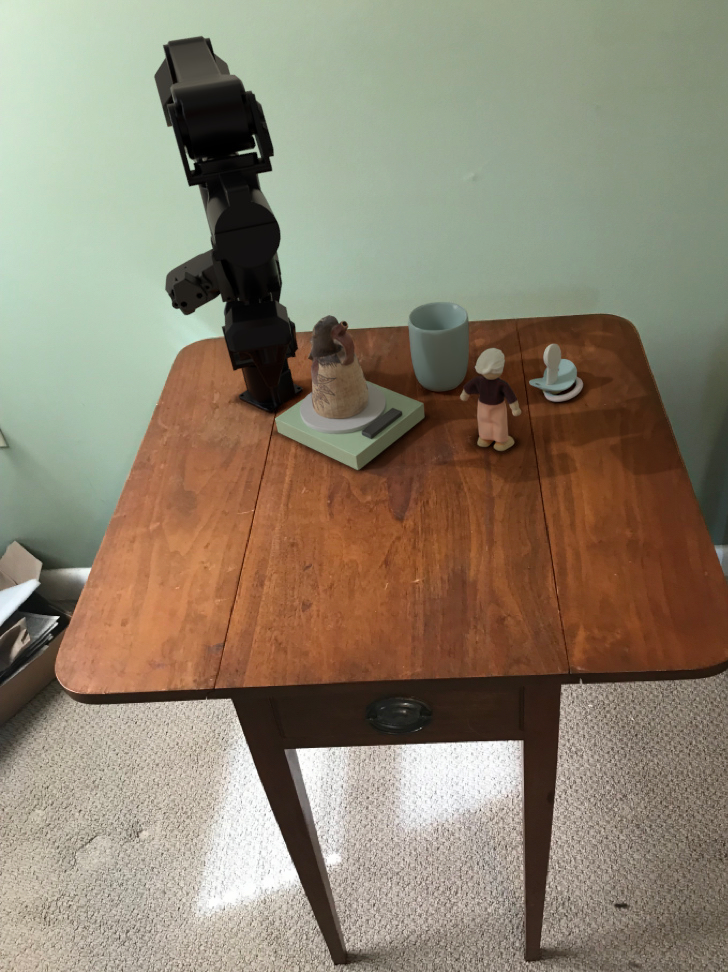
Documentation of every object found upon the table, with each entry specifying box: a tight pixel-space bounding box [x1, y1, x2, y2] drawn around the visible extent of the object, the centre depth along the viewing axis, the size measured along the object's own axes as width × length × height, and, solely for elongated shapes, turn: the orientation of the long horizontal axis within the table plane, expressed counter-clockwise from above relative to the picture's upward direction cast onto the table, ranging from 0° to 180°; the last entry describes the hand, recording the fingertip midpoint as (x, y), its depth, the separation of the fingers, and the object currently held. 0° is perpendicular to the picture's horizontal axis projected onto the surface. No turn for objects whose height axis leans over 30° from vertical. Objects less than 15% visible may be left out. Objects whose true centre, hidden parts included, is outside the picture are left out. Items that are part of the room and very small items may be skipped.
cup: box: [407, 301, 470, 393], centre depth 101 cm, size 8×8×10 cm
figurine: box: [307, 314, 369, 419], centre depth 94 cm, size 7×7×12 cm
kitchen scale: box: [274, 380, 425, 471], centre depth 98 cm, size 14×13×3 cm
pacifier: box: [528, 343, 584, 403], centre depth 99 cm, size 7×6×6 cm
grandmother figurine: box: [459, 347, 522, 452], centre depth 90 cm, size 8×4×13 cm, turn 71°
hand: (270, 364), depth 87 cm, fingers open, 9 cm apart
